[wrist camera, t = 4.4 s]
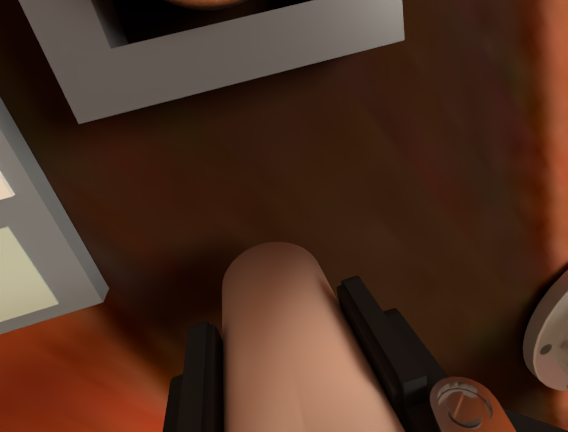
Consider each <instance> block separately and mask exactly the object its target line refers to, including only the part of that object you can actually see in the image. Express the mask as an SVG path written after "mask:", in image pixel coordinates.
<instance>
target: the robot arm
mask: <svg viewBox="0 0 568 432" xmlns="http://www.w3.org/2000/svg"><path fill="white" fill-rule="evenodd" d="M341 284H342V285H340V286H337V293H338V298H339V303H340V307H341V309H342V311H343V313H344V314H345V316H346V318H347V320H348V322H349V324H350V326H351V328H352V330H353V332H354V334H355V336H356V338H357V340H358V342H359V344H360V345H361V347H362V349H363V351H364V353H365V355H366V357H367V359H368V361H369V363H370V365H371V367H372V369H373V371H374V373H375V375H376V376H377V378H378V380H379V382H380V384H381V386H382V388H383V390H384V392H385V394H386V396H387V398H388V400H389V402H390V404H391V406H392V408H393V409H394V411H395V413H396V415H397V417H398V419H399V421H400V423H401V425H402V426H403V428H404V430H405V432H568V431H566V430H563V429H561V428H558V427H555V426H552V425H549V424H546V423H543V422H541V421H538V420H535V419H532V418H529V417H526V416H524V415H521V414H518V413H515V412H512V411H509V410H506V409H504V408H502V407H501V406H500V404H499V402H498V401H497V399H496V398H495V397H494V395H493V394H492V393H491V392H490V391H489V390H488V389H487V388H485V387H484V386H483V385H482V384H480V383H478V382H476V381H474V380H471V379H468V378H464V377H448V376H447V375H446V373H445V372H444V371H443V369H442V368H441V367H440V365H439V364H438V363H437V361H436V360H435V359H434V357H433V356H432V355H431V353H430V352H429V351H428V349H427V348H426V347H425V345H424V344H423V343H422V341H421V340H420V339H419V337H418V336H417V335H416V333H415V332H414V331H413V329H412V328H411V327H410V325H409V324H408V323H407V321H406V320H405V319H404V317H403V316H402V315H401V313H400V312H399V311H398V310H397V309H395V308H394V309H390V310H387V311H384V312H383V311H382V310H381V308H380V307H379V305H378V304H377V302H376V301H375V299H374V298H373V296H372V295H371V293H370V292H369V290H368V289H367V288H366V286H365V285H364V283H363V282H362V280H361V279H360V277H359V276H354V277H351V278H348V279H344V280H342V281H341ZM523 357H524V361H525V363H526V366H527V368H528V369H529V370H530V371H531V372H532V374H533V375H534V376H535V377H537V378H538V379H539V380H540V381H541V382H542V383H543V384H545V385H546V386H547V387H550V388H552V389H555V390H560V391H568V270H567V271H565V272H564V273H563V274H562V275H561V277H560V278H559V279H558V280H557V281H556V282H555V283H554V284H553V285H552V286H551V287H550V289H549V290H548V291H547V293H546V294H545V295H544V297H543V298H542V299H541V301H540V302H539V304H538V305H537V307H536V309H535V311H534V312H533V314H532V316H531V318H530V321H529V323H528V326H527V328H526V331H525V336H524V341H523ZM163 432H224V414H223V342H222V339H221V337H220V334H219V332H218V329H217V327H216V325H215V324H212V325H209V323H208V322H207V321H206V322H202V323H199V324H196V325H193V326H190V327H189V329H188V337H187V346H186V354H185V362H184V371H183V374H182V375H179V376H176V377H173V378H172V380H171V383H170V389H169V395H168V402H167V408H166V414H165V421H164V427H163Z"/></svg>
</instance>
